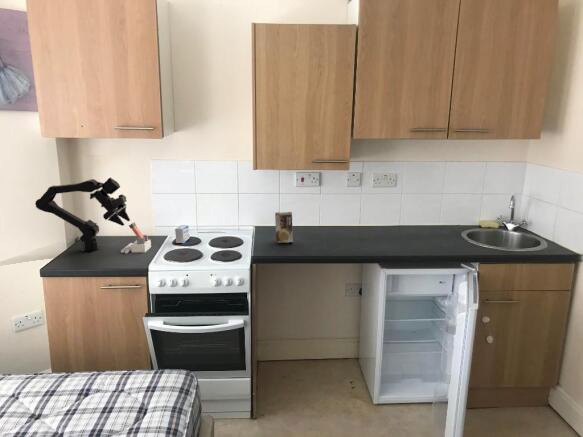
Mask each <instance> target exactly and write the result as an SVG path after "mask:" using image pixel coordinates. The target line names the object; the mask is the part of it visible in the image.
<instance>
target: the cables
mask: <svg viewBox="0 0 583 437" xmlns="http://www.w3.org/2000/svg"><path fill="white" fill-rule="evenodd" d="M133 243H134V242H130V243H128V245H126V246H125V247H124V248H122V249H121V250H120V253H121V254H123V253H124V254H126V255H127V254H128V253H129V252H132V250H131V244H133Z"/></svg>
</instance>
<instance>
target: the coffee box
mask: <svg viewBox="0 0 583 437" xmlns="http://www.w3.org/2000/svg"><path fill="white" fill-rule="evenodd" d="M274 214H275V215H274V220H275V221H274V224H275V242H276V241H277V242H293V243H294V234H293V233H294V232H293V230H294V229H293V212H292V211H283V212H281V211H279V212H275V213H274Z"/></svg>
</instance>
